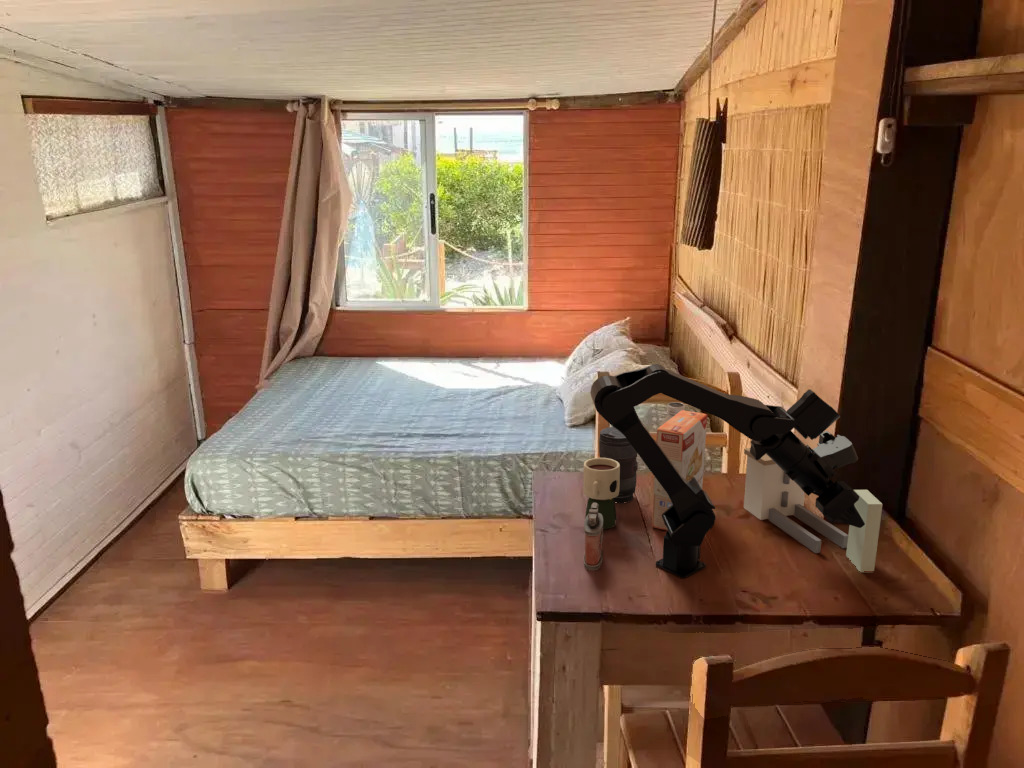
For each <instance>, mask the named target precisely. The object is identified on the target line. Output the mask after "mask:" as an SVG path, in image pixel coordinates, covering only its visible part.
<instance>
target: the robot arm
mask: <svg viewBox="0 0 1024 768" xmlns="http://www.w3.org/2000/svg"><path fill="white" fill-rule="evenodd" d="M589 394H590V396H591V400H592V402H593V405H594V408H595V410H596V411H597V414H599V415H600V416H601V418H603V419H604V420H605V421H606V422H607V423H608V424H609V425H610V426H611V427H614V428H616V429H617V430H618V431H620V432H621V433H622V434H623V435H624V436H625V437H626V438H627V440H628V441H629V442H630V444H631V445H632V447H633V448H634V449H635V451H636V452H637V456H639V457H640V459H641V460H642V461H643V463H644V464H645V465H646V467H647V468H648V469H649V471H650V473H652V475H653V476H654V477H655V478H656V479H657V480H658V482H659V483H660V484H661V486H662V487H663V488H664V490H665V491H666V492H667V494H668V496H669V498H670V500H671V502H672V504H673V505H672V506H671V507H670V508H668V509H667V510H666V511H665V512H664V513H663V514H662V518H663V521H664V524H665V526H666V527H667V530H665V535H664V536H663V546H662V558H661V559H659V560H656V561H655V565H656V566H657V567H659V568H661V569H662V570H665V571H667V572H670V573H671V574H673V575H675V576H677V577H679V578H681V579H685V578H687V577H690V576H692V575H693V574H695V573H697V572H700V570H703V569H704V568H706V566H707V565H706V563H705V562H702V561H700V559H701V546H702V544H703V542H704V539H705V538H706V535H707V533H708V532H709V531H710V530H711V529H712V528H713V526H714V525H715V523H716V519H717V518H716V517H717V516H716V514H715V511H714V509H716V506H715V504H714V503H713V501H712V499H711V498H710V497H709V495H708V493H707V491H706V490H704V489H703V487H702V488H701V487H700V485H699V483H698V482H697V480H696V478H695V477H693V478H692V479H691V480H690V481H687V480H686V479H685V478H683V477H682V476H681V475H680V474H679V472H678V471H677V469H676V468H675V467H674V465H673V464H672V463H671V461H670V460H669V458H668V457H667V456H666V454H665V453H664V452H663V450H662V449H661V448H660V446H659V445H658V443H657V442H656V439H655V438H654V437H653V435H652V434H651V433H650V431H649V430H648V429H647V427H646V426H645V425H644V422H642V420H641V419H640V417H639V415H638V413H637V411H636V408H635V407H637V406H639V405H641V404H643V403H644V402H646V401H648V400H649V399H651V398H652V397H654V396H656V395H658V394H663V395H665V396H667V397H669V398H672V399H675V401H679V402H680V403H683V404H686V405H687V406H691V407H693V408H696V409H698V410H701V411H703V412H705V413H706V414H709V415H711V416H714V417H717V418H719V419H721V420H723V421H724V422H726V423H727V424H728V425H729V426H731V427H732V428H733V429H734V430H736V431H738V432H739V433H741V435H743V436H745V437H746V438H748V439H750V441H749V443H750V447H749V448H750V453H751V454H752V456H753V457H754V458H755V459H756V460H759V459H760V458H761V457H763V456H764V455H765V454H767V455H768V456H769V457H770V458H771V459H772V460H773V461H774V462H775V463H776V464H777V465H778V466H779V467H780V468H781V469H782V470H783V471H784V472H785V473H786V474H787V475H788V477H789V478H790V479H791V480H792V481H794V482H795V483H796V484H797V485H798V486H799V487H800V488H801V489H802V490H803V491H804V492H805V495H807V496H808V497H810V495H811V494H813V495H815V496H817V497H816V498H815V507H816V508H817V510H818V511H819V512H820V513H821V514H822V515H823V516H824V518H826V519H827V521H829V523H830V522H835V521H836V522H840V523H843V524H846V525H852V526H855V527H858V528H861V527H863V526H864V525H865V523H864V521H863V519H862V518H861V516H860V514H859V513H858V511H857V509H856V507H855V506H854V504H855V503H856V502H857V501H858V500H859V497H860V496H859V495H858V494H857V493H856V492H854V489H852V487H851V486H850V485H848V483H846V482H845V481H844V480H837V481H835V482H834V481H833V480H832V478H833V477H835V476H836V475H837V472H836V471H835V470H836V469H837V470H838V469H840V468H842V467H844V466H846V465H848V464H854V463H856V462H858V460H859V457H858V455H857V452H856V449H855V448H854V445H853V443H852V441H850V439H848V438H847V437H846V436H845V435H840V434H837V435H836V436H835V435H833V434H832V433H831V432H829V430H828V428H830V426H832V425H833V424H834V423H835V422H836V421H838V419H840V418H841V415H840V414H839V413H838V412H837V411H836V409H834V407H832V406H831V405H830V404H828V403H827V402H826V401H825V400H823V399H822V398H821V397H820V396H819V395H818V394H817V392H815V391H813V390H812V389H810V388H809V389H808V390H806V391H805V392H803V395H801V397H800V398H799V399H798V400H797V401H796V402H795V403H794V404H793V405H792V406H790V407H789V408H788V409H787V410H786V409H785V408H784V407H782V406H779V405H771V404H765V403H764V402H762V401H761V400H759V399H756V398H752V397H749V396H743V395H738V394H728V393H724V392H721V391H719V390H717V389H715V388H713V387H710V386H707V385H705V384H703V383H701V382H698V381H695V379H694V380H693V379H691V378H689V377H687V376H684V375H682V374H680V373H677V372H675V371H672V370H669V368H666V367H665V366H663V365H661V364H659V363H658V364H657V363H655V364H650V365H648V366H645V367H643V368H639V369H635V370H628V371H625V372H621V373H619V374H615V375H608V374H607V375H603V376H600V377H598V378H597V379H596V380H595V381H593V383H592V385H591V386H590V393H589ZM793 429H794V430H795V431H797V433H798V434H799V435H801V436H802V438H803V439H804V440H807V439H810V440H812V441H813V440H816V439H817V438H818V437H819V438H818V443H817V445H816V447H814V448H812V447H811V446H810V445H808V444H805V443H804V442H803V441H802V440H801V439H800V438H799V437H798V436H797V435H796V434H795V433H794V432H793V431H792V430H793Z"/></svg>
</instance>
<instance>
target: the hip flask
mask: <svg viewBox="0 0 1024 768" xmlns="http://www.w3.org/2000/svg"><path fill="white" fill-rule="evenodd" d="M583 522H584V523H583V531H584V552H583V553H584V554H583V567H584V569H586V570H587V569H589V570H588V571H597V570H599V569H600V568H601V566H600V565H602V563H603V557H604V556H603V552H604V551H603V548H602V545H603V540H604V529H603V516H602V514H600V513H598V504H597V503H593V504H592V505H591V509H589V514H588V515H587V516H586V518H585V517H584V521H583ZM598 568H599V569H598Z"/></svg>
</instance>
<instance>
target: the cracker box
mask: <svg viewBox="0 0 1024 768" xmlns="http://www.w3.org/2000/svg"><path fill="white" fill-rule="evenodd" d="M707 425H708V413H703V412H698V411H697V412H696V411H689V410H685V409H684V410H681V411H680V412H679V413H677V414H676V415H675V416H673V417H672V418H671V419H669V420H668V421H667V422H666V423H664V424H663V425H662V426H661V425H659V427H658V428H656V439H655V441H656V442H657V443H658V445H659V446H660V448H661V449H662V450H663V452H664V453H665V454H666V456H667V457H668V458H669V460H670V461H671V463H672V464H673V465H674V467H675V468H676V469H677V471H678V472H679V474H680V475H681V476H682V477H683V478H685V479H686V480H687V481H690V480H691V479H692V478H693V477H695V478H696V480H697V482H698V483H699V485H700V487H701V488H702V489H703V483H704V482H703V481H704V469H705V467H704V466H705V456H706V455H705V454H706V453H705V451H706V441H707V440H706V438H707ZM653 482H654V483H653V498H652V517H651V518H652V519H651V527H652V528H656V529H659V530H664V531H667V527H666V526H665V524H664V521H663V518H662V514H663V513H664V512H665V511H666V510H667V509H668V508H670V507H671V506H672V505H673V504H672V502H671V500H670V498H669V496H668V494H667V492H666V491H665V490H664V488H663V487H662V486H661V484H660V483H659V482H658V480H657V479H656V478H655V476H654V481H653Z"/></svg>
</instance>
